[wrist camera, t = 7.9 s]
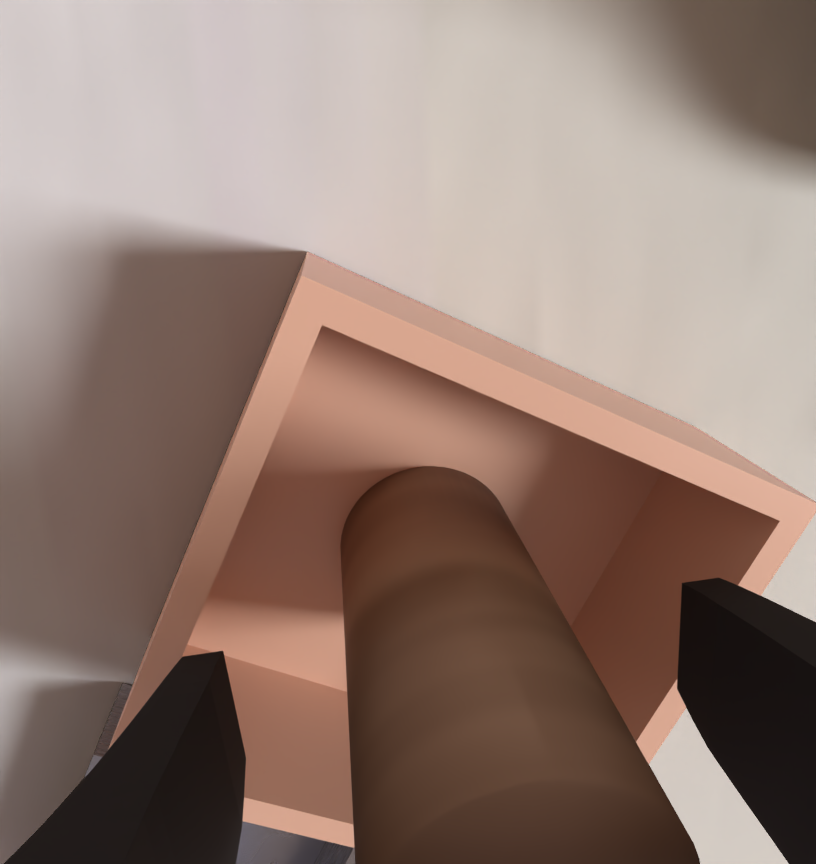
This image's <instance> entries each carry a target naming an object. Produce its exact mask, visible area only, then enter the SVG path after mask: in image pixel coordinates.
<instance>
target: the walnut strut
mask: <svg viewBox="0 0 816 864" xmlns="http://www.w3.org/2000/svg"><path fill="white" fill-rule="evenodd" d="M340 548H341V572H342V593H343V614H344V636H345V657H346V678H347V699H348V721H349V742H350V763H351V784H352V806H353V827H354V848H355V864H700V862H699V857H698V854H697V852H696V849H695V846H694V843H693V842H692V840H691V838H690V836H689V835H688V833H687V831H686V829H685V828H684V826H683V824H682V822H681V821H680V819H679V817H678V815H677V814H676V812H675V810H674V808H673V806H672V805H671V803H670V801H669V799H668V798H667V796H666V794H665V792H664V791H663V789H662V787H661V785H660V784H659V782H658V780H657V778H656V777H655V775H654V773H653V771H652V769H651V768H650V766H649V764H648V762H647V761H646V759H645V757H644V755H643V754H642V752H641V750H640V748H639V747H638V745H637V743H636V741H635V740H634V738H633V736H632V734H631V732H630V731H629V729H628V727H627V725H626V724H625V722H624V720H623V718H622V717H621V715H620V713H619V711H618V710H617V708H616V706H615V704H614V703H613V701H612V699H611V697H610V696H609V694H608V692H607V690H606V688H605V687H604V685H603V683H602V681H601V680H600V678H599V676H598V674H597V673H596V671H595V669H594V667H593V666H592V664H591V662H590V660H589V659H588V657H587V655H586V653H585V651H584V650H583V648H582V646H581V644H580V643H579V641H578V639H577V637H576V636H575V634H574V632H573V630H572V629H571V627H570V625H569V623H568V622H567V620H566V618H565V616H564V614H563V613H562V611H561V609H560V607H559V606H558V604H557V602H556V600H555V599H554V597H553V595H552V593H551V592H550V590H549V588H548V586H547V585H546V583H545V581H544V579H543V577H542V576H541V574H540V572H539V570H538V569H537V567H536V565H535V563H534V562H533V560H532V558H531V556H530V555H529V553H528V551H527V549H526V548H525V546H524V544H523V542H522V540H521V539H520V537H519V535H518V533H517V532H516V530H515V528H514V526H513V525H512V523H511V521H510V519H509V518H508V516H507V514H506V512H505V511H504V509H503V507H502V505H501V504H500V502H499V500H498V499H497V497H496V496H495V495H494V494H493V492H492V491H491V490H490V489H489V488H488V487H486V486H485V485H484V484H483V483H482V482H480V481H479V480H477V479H476V478H474V477H472V476H470V475H468V474H466V473H464V472H461V471H458V470H455V469H451V468H446V467H437V466H425V467H416V468H410V469H407V470H403V471H400V472H397V473H395V474H392V475H390V476H388V477H386V478H384V479H383V480H381V481H379V482H378V483H376V484H375V485H374V486H372V487H371V488H370V489H368V490H367V491H366V492H365V493H364V494H363V495H362V496H361V497H360V499H359V500H358V501H357V502H356V504H355V505H354V506H353V508H352V510H351V511H350V513H349V515H348V517H347V519H346V522H345V524H344V528H343V531H342V535H341V544H340Z"/></svg>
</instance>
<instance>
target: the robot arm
mask: <svg viewBox="0 0 816 864" xmlns="http://www.w3.org/2000/svg"><path fill="white" fill-rule="evenodd" d="M677 690H678V692H679V694H680V696H681V698H682V700H683V702H684V704H685V706H686V708H687V709H688V711H689V713H690V715H691V717H692V719H693V721H694V723H695V725H696V727H697V729H698V730H699V732H700V734H701V736H702V738H703V739H704V741H705V743H706V745H707V747H708V748H709V750H710V751H711V753H712V754H713V756H714V757H715V759H716V760H717V762H718V763H719V765H720V766H721V767H722V769H723V770H724V772H725V773H726V775H727V776H728V778H729V779H730V780H731V782H732V783H733V785H734V786H735V788H736V789H737V791H738V792H739V793H740V795H741V796H742V798H743V799H744V801H745V802H746V803H747V805H748V806H749V808H750V809H751V810H752V812H753V813H754V815H755V816H756V818H757V819H758V820H759V822H760V823H761V825H762V826H763V827H764V829H765V830H766V832H767V833H768V835H769V836H770V837H771V839H772V840H773V842H774V843H775V844H776V846H777V847H778V849H779V850H780V852H781V853H782V854H783V856H784V857H785V859H786V860H787V861H788V863H789V864H816V622H814V621H812V620H810V619H808V618H806V617H803V616H801V615H799V614H797V613H795V612H793V611H791V610H789V609H787V608H785V607H783V606H781V605H779V604H777V603H775V602H773V601H770V600H768V599H766V598H764V597H762V596H760V595H758V594H756V593H754V592H752V591H749V590H747V589H745V588H743V587H741V586H738V585H736V584H734V583H731V582H729V581H726V580H724V579H721V578H712V579H705V580H699V581H692V582H685V583H682V592H681V613H680V635H679V656H678V677H677ZM245 771H246V755H245V750H244V745H243V741H242V736H241V731H240V727H239V722H238V717H237V713H236V708H235V703H234V699H233V694H232V689H231V685H230V680H229V676H228V671H227V666H226V662H225V657H224V652H223V651H217V652H210V653H204V654H197V655H190V656H183V657H182V658H181V659H180V660H179V661H178V662H177V664H176V665H175V666H174V667H173V669H172V670H171V671H170V672H169V673H168V675H167V676H166V677H165V679H164V680H163V681H162V682H161V684H160V685H159V686H158V688H157V689H156V690H155V692H154V693H153V694H152V695H151V697H150V698H149V699H148V701H147V702H146V703H145V704H144V706H143V707H142V708H141V710H140V711H139V712H138V713H137V715H136V716H135V717H134V718H133V720H132V721H131V722H130V724H129V725H128V726H127V727H126V729H125V730H124V731H123V732H122V733H121V735H120V736H119V737H118V738H117V740H116V741H115V742H114V743H113V744H112V746H111V747H110V748H109V749H108V751H107V752H106V753H105V754H104V756H103V757H102V758H101V759H100V760H99V762H98V763H97V764H96V765H95V766H94V768H93V769H92V770H91V771H90V772H89V773H88V775H87V776H86V777H85V778H84V779H83V780H82V781H81V782H80V784H79V785H78V786H77V787H76V788H75V789H74V790H73V791H72V793H71V794H70V795H69V796H68V797H67V798H66V799H65V800H64V802H63V803H62V804H61V805H60V806H59V807H58V808H57V809H56V811H55V812H54V813H53V814H52V815H51V816H50V817H49V818H48V819H47V821H46V822H45V823H44V824H43V825H42V826H41V827H40V828H39V829H38V830H37V831H36V832H35V833H34V834H33V835H32V836H31V837H30V838H29V839H28V840H27V841H26V842H25V843H24V844H23V845H22V846H21V847H20V848H19V849H18V850H17V851H16V852H15V853H14V854H13V855H12V856H11V857H10V858H9V859H8V860H7V861H6V862H5V863H4V864H236V860H237V854H238V848H239V842H240V836H241V830H242V821H243V806H244V790H245Z"/></svg>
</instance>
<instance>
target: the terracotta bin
mask: <svg viewBox="0 0 816 864" xmlns="http://www.w3.org/2000/svg"><path fill="white" fill-rule="evenodd" d="M425 466H437V467H446V468H451V469H455V470H458V471H461V472H464V473H466V474H468V475H470V476H472V477H474V478H476V479H477V480H479V481H480V482H482V483H483V484H484V485H485V486H486V487H488V488H489V489H490V490H491V491H492V492H493V494H494V495H495V496H496V497H497V499H498V500H499V502H500V504H501V505H502V507H503V509H504V511H505V512H506V514H507V516H508V518H509V519H510V521H511V523H512V525H513V526H514V528H515V530H516V532H517V533H518V535H519V537H520V539H521V540H522V542H523V544H524V546H525V548H526V549H527V551H528V553H529V555H530V556H531V558H532V560H533V562H534V563H535V565H536V567H537V569H538V570H539V572H540V574H541V576H542V577H543V579H544V581H545V583H546V585H547V586H548V588H549V590H550V592H551V593H552V595H553V597H554V599H555V600H556V602H557V604H558V606H559V607H560V609H561V611H562V613H563V614H564V616H565V618H566V620H567V622H568V623H569V625H570V627H571V629H572V630H573V632H574V634H575V636H576V637H577V639H578V641H579V643H580V644H581V646H582V648H583V650H584V651H585V653H586V655H587V657H588V659H589V660H590V662H591V664H592V666H593V667H594V669H595V671H596V673H597V674H598V676H599V678H600V680H601V681H602V683H603V685H604V687H605V688H606V690H607V692H608V694H609V696H610V697H611V699H612V701H613V703H614V704H615V706H616V708H617V710H618V711H619V713H620V715H621V717H622V718H623V720H624V722H625V724H626V725H627V727H628V729H629V731H630V732H631V734H632V736H633V738H634V740H635V741H636V743H637V745H638V747H639V748H640V750H641V752H642V754H643V755H644V757H645V759H646V761H647V762H648V764H649V763H650V761H651V760H652V758H653V757H654V755H655V754H656V752H657V751H658V749H659V748H660V746H661V745H662V743H663V742H664V740H665V739H666V737H667V736H668V734H669V733H670V731H671V730H672V728H673V727H674V725H675V724H676V722H677V721H678V719H679V718H680V716H681V715H682V713H683V712H684V710H685V709H686V706H685V704H684V702H683V700H682V698H681V696H680V694H679V692H678V690H677V677H678V656H679V635H680V613H681V592H682V583H685V582H692V581H699V580H705V579H712V578H721V579H724V580H726V581H729V582H731V583H734V584H736V585H738V586H741V587H743V588H745V589H747V590H749V591H752V592H754V593H756V594H758V595H760V596H761V594H762V593H763V591H764V590H765V588H766V587H767V585H768V584H769V582H770V581H771V579H772V578H773V576H774V575H775V573H776V572H777V570H778V569H779V567H780V566H781V564H782V563H783V561H784V560H785V558H786V557H787V555H788V554H789V552H790V551H791V549H792V548H793V546H794V545H795V543H796V542H797V540H798V539H799V537H800V536H801V534H802V533H803V531H804V530H805V528H806V527H807V525H808V524H809V522H810V521H811V519H812V518H813V516H814V515H815V513H816V502H815V501H813V500H812V499H810V498H808V497H807V496H805V495H804V494H802V493H800V492H799V491H797V490H796V489H794V488H792V487H791V486H789V485H788V484H786V483H784V482H783V481H781V480H780V479H778V478H776V477H775V476H773V475H772V474H770V473H768V472H767V471H765V470H764V469H762V468H760V467H759V466H757V465H756V464H754V463H752V462H751V461H749V460H748V459H746V458H744V457H743V456H741V455H740V454H738V453H736V452H735V451H733V450H732V449H730V448H728V447H727V446H725V445H724V444H722V443H720V442H719V441H717V440H716V439H714V438H712V437H711V436H709V435H708V434H706V433H704V432H703V431H701V430H700V429H698V428H696V427H694V426H692V425H690V424H688V423H685V422H683V421H681V420H679V419H677V418H674V417H672V416H670V415H668V414H665V413H663V412H661V411H659V410H657V409H654V408H652V407H650V406H648V405H646V404H643V403H641V402H639V401H637V400H635V399H632V398H630V397H628V396H626V395H623V394H621V393H619V392H617V391H615V390H612V389H610V388H608V387H606V386H604V385H601V384H599V383H597V382H595V381H593V380H590V379H588V378H586V377H584V376H581V375H579V374H577V373H575V372H573V371H570V370H568V369H566V368H564V367H562V366H559V365H557V364H555V363H553V362H551V361H548V360H546V359H544V358H542V357H539V356H537V355H535V354H533V353H531V352H528V351H526V350H524V349H522V348H520V347H517V346H515V345H513V344H511V343H509V342H506V341H504V340H502V339H500V338H497V337H495V336H493V335H491V334H489V333H486V332H484V331H482V330H480V329H478V328H475V327H473V326H471V325H469V324H467V323H464V322H462V321H460V320H458V319H455V318H453V317H451V316H449V315H447V314H444V313H442V312H440V311H438V310H436V309H433V308H431V307H429V306H427V305H425V304H422V303H420V302H418V301H416V300H413V299H411V298H409V297H407V296H405V295H402V294H400V293H398V292H396V291H394V290H391V289H389V288H387V287H385V286H383V285H380V284H378V283H376V282H374V281H371V280H369V279H367V278H365V277H363V276H360V275H358V274H356V273H354V272H352V271H349V270H347V269H345V268H343V267H341V266H338V265H336V264H334V263H332V262H329V261H327V260H325V259H323V258H321V257H318V256H316V255H314V254H312V253H310V252H307V254H306V256H305V259H304V261H303V263H302V266H301V268H300V271H299V273H298V276H297V278H296V281H295V283H294V286H293V288H292V291H291V293H290V296H289V298H288V301H287V303H286V305H285V308H284V310H283V313H282V315H281V318H280V320H279V323H278V325H277V328H276V330H275V333H274V335H273V338H272V340H271V342H270V345H269V347H268V350H267V352H266V355H265V357H264V360H263V362H262V365H261V367H260V370H259V372H258V375H257V377H256V380H255V382H254V384H253V387H252V389H251V392H250V394H249V397H248V399H247V402H246V404H245V407H244V409H243V412H242V414H241V417H240V419H239V422H238V424H237V426H236V429H235V431H234V434H233V436H232V439H231V441H230V444H229V446H228V449H227V451H226V454H225V456H224V459H223V461H222V463H221V466H220V468H219V471H218V473H217V476H216V478H215V481H214V483H213V486H212V488H211V491H210V493H209V496H208V498H207V501H206V503H205V505H204V508H203V510H202V513H201V515H200V518H199V520H198V523H197V525H196V528H195V530H194V533H193V535H192V538H191V540H190V543H189V545H188V547H187V550H186V552H185V555H184V557H183V560H182V562H181V565H180V567H179V570H178V572H177V575H176V577H175V580H174V582H173V584H172V587H171V589H170V592H169V594H168V597H167V599H166V602H165V604H164V607H163V609H162V612H161V614H160V617H159V619H158V622H157V624H156V626H155V629H154V631H153V634H152V636H151V639H150V641H149V644H148V647H147V649H146V652H145V654H144V657H143V660H142V662H141V665H140V667H139V670H138V673H137V675H136V678H135V680H134V683H133V686H132V688H131V691H130V693H129V696H128V699H127V701H126V704H125V707H124V709H123V712H122V714H121V717H120V720H119V722H118V725H117V727H116V730H115V733H114V735H113V738H112V740H111V743H110V746H109V748H110V747H111V746H112V744H113V743H114V742H115V741H116V740H117V738H118V737H119V736H120V735H121V733H122V732H123V731H124V730H125V729H126V727H127V726H128V725H129V724H130V722H131V721H132V720H133V718H134V717H135V716H136V715H137V713H138V712H139V711H140V710H141V708H142V707H143V706H144V704H145V703H146V702H147V701H148V699H149V698H150V697H151V695H152V694H153V693H154V692H155V690H156V689H157V688H158V686H159V685H160V684H161V682H162V681H163V680H164V679H165V677H166V676H167V675H168V673H169V672H170V671H171V670H172V669H173V667H174V666H175V665H176V664H177V662H178V661H179V660H180V659H181V658H182V657H183V656H190V655H197V654H204V653H210V652H217V651H223V652H224V657H225V662H226V666H227V671H228V676H229V680H230V685H231V689H232V694H233V699H234V703H235V708H236V713H237V717H238V722H239V727H240V731H241V736H242V741H243V745H244V750H245V755H246V771H245V790H244V806H243V821H244V822H248V823H252V824H257V825H261V826H265V827H269V828H273V829H277V830H282V831H286V832H290V833H294V834H298V835H302V836H307V837H311V838H315V839H319V840H323V841H327V842H332V843H336V844H340V845H344V846H348V847H352V848H354V827H353V806H352V784H351V763H350V742H349V721H348V699H347V678H346V657H345V636H344V614H343V593H342V572H341V548H340V544H341V535H342V531H343V528H344V524H345V522H346V519H347V517H348V515H349V513H350V511H351V510H352V508H353V506H354V505H355V504H356V502H357V501H358V500H359V499H360V497H361V496H362V495H363V494H364V493H365V492H366V491H367V490H368V489H370V488H371V487H372V486H374V485H375V484H376V483H378V482H379V481H381V480H383V479H384V478H386V477H388V476H390V475H392V474H395V473H397V472H400V471H403V470H407V469H410V468H416V467H425ZM109 748H108V749H109Z"/></svg>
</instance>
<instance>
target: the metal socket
mask: <svg viewBox="0 0 816 864" xmlns="http://www.w3.org/2000/svg"><path fill="white" fill-rule="evenodd" d="M131 688H132V686H131V685H128V684H124V683H122V686H121V688H120V691H119V693H118V696H117V698H116V701H115V703H114V705H113V708H112V710H111V713H110V715H109V718H108V720H107V723H106V725H105V728H104V730H103V733H102V735H101V737H100V740H99V742H98V745H97V747H96V750H95V752H94V755H93V757H92V760H91V762H90V765H89V767H88V770H87V772H86V775H85V777H86V776H87V775H88V773H89V772H90V771H91V770H92V769H93V768H94V766H95V765H96V764H97V763H98V762H99V760H100V759H101V758H102V757H103V756H104V754H105V753H106V752H107V751H108V748H109V746H110V743H111V740H112V738H113V735H114V733H115V730H116V727H117V725H118V722H119V720H120V717H121V714H122V712H123V709H124V707H125V704H126V701H127V699H128V696H129V693H130V691H131ZM85 777H84V778H85ZM236 864H355V848H352V847H348V846H344V845H340V844H336V843H332V842H327V841H323V840H319V839H315V838H311V837H307V836H302V835H298V834H294V833H290V832H286V831H282V830H277V829H273V828H269V827H265V826H261V825H257V824H252V823H248V822H244V821H242V830H241V836H240V842H239V848H238V854H237V860H236Z"/></svg>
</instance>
